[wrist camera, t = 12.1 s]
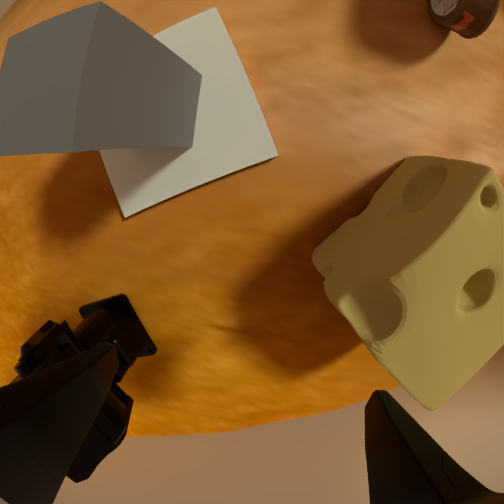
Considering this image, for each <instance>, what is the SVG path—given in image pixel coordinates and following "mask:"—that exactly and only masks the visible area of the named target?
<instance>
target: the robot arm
mask: <svg viewBox="0 0 504 504" xmlns="http://www.w3.org/2000/svg"><path fill="white" fill-rule="evenodd" d="M121 298H122V299H123V300H124V301H122V300H121ZM79 312H80V314H81V316H82V318H83V319H84V320H83V321H82V322H81V323H80V324H79V325H78V326H77V327H76V328H75V329H74V330H73V331H71V329H70V328H69V327H68V326H69V325H68V323H67V322H66V321H65V320H64V321H63V322H61V323H60V324H58V323H55V322H53V321H51V320H49V321H48V322H46V323H45V324H44V325H43V326H42V327H41V328H40V329H39V330H37V331H36V332H35V333H34V334H33V335H32V336H31V337H30V338H29V339H28V340H27V341H26V342H25V343H24V344H23V345H22V346H21V357H20V358H19V359H18V361H19V362H18V363H17V364H16V366H15V367H14V369H15V371H16V372H17V373H18V374H19V375H18V376H17V377H16V378H15V379H14V380H13V381H12V382H11V383H10V384H9V385H6V386H3V387H0V504H53V502H54V500H55V498H56V495H57V493H58V491H59V489H60V487H61V486H60V485H61V484H62V482H63V480H64V478H65V476H67V477H68V478H70V479H71V480H73V481H74V482H75V483H78V482H81V481H83V480H86V479H88V478H89V477H90V475H91V474H92V473H93V471H94V470H95V468H96V467H97V465H98V464H99V463H100V462H101V461H102V460H103V459H104V458H105V457H106V456H107V455H108V454H109V453H111V452H112V451H113V450H115V449H116V448H117V447H118V446H119V445H120V444H121V442H122V440H123V439H124V437H125V436H126V432H127V428H128V423H129V419H130V414H131V410H132V405H133V401H134V400H133V399H132V398H131V397H130V396H128V395H127V394H126V393H125V392H124V391H123V390H122V389H121V388H120V387H119V386H118V385H117V382H121V380H122V378H123V377H124V375H125V374H126V372H127V371H128V369H129V368H130V366H132V365H133V363H134V362H135V360H136V359H137V357H143V356H150V355H154V354H155V353H156V351H157V348H156V346H155V345H154V343H153V341H152V340H151V338H150V336H149V335H148V333H147V331H146V330H145V328H144V326H143V325H142V323H141V321H140V319H139V318H138V316H137V314H136V312H135V310H134V309H133V307H132V305H131V303H130V301H129V299H128V298H127V296H126V295H125V294H119V295H115V296H112V297H109V298H106V299H103V300H99V301H96V302H93V303H90V304H87V305H84V306H82V307H80V308H79ZM151 349H152V350H151ZM365 452H366V461H367V471H368V483H369V495H370V504H504V493H497V492H494V491H491V490H489V489H488V488H486V487H485V486H484V485H482V484H481V483H480V482H479V481H477V480H476V479H475V478H474V477H473V476H471V475H470V474H469V473H468V472H466V471H465V470H464V469H463V468H462V467H460V466H459V464H457V463H456V462H455V461H454V460H453V459H452V458H451V457H450V456H449V455H448V454H447V453H446V452H445V451H444V450H443V449H442V448H441V446H440V445H438V443H437V442H435V440H434V439H433V438H432V437H431V436H430V435H429V434H428V433H427V432H426V431H425V430H424V429H423V428H422V427H421V426H420V425H419V424H418V423H417V422H416V421H415V420H414V419H413V418H412V417H411V416H410V415H409V413H408V412H406V410H405V409H404V408H403V407H402V406H401V405H400V404H399V403H398V402H397V401H396V400H395V399H394V398H393V397H392V396H391V395H390V394H389V393H388V392H387V391H386V390H375V391H374V392H373V394H372V395H371V397H370V399H369V401H368V402H367V404H366V406H365Z"/></svg>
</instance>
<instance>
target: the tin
mask: <svg viewBox="0 0 504 504" xmlns="http://www.w3.org/2000/svg"><path fill="white" fill-rule="evenodd" d="M499 4H500V0H428V5H429V10H430V13H431V16H432V17H433V19H434V20H435V21H436V22H437V23H439V24H441V25H443V26H444V27H446V28H448V29H450V30H452V31H454V32H456V33H458V34H459V35H460V36H462V37H464V38H467V39H472V38H475V37H478V36H479V35H481V34H482V33H483V32H484V31H485V30H486V29H487V28H488V27H489V25H490V24H491V22H492V21H493V19H494V17H495V16H496V14H497V11H498V8H499Z"/></svg>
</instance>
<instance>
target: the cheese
mask: <svg viewBox="0 0 504 504" xmlns="http://www.w3.org/2000/svg"><path fill="white" fill-rule="evenodd" d="M312 262H313V265H314V266H315V268H316V269H317V271H318V272H319V273H320V274H321V275H322V276H323V277H324V278H325V281H324V282H323V285H324V289H325V293H326V295H327V297H328V298H329V300H330V302H331V303H332V304H333V306H334V307H335V308H336V309H337V310H338V311H339V312H340V313H341V314H342V315H343V316H344V317H345V318H346V319H347V321H348V322H349V323H350V324H351V326H352V327H353V329H354V330H355V331H356V333H357V334H358V336H359V337H360V339H361V340H362V341H363V343H364V344H365V346H366V347H367V348H368V349H369V351H370V352H371V353H372V355H373V356H374V357H375V358H376V360H377V361H378V362H379V363H380V364H381V365H382V366H383V367H384V368H385V369H386V370H387V371H388V372H389V373H390V374H391V375H392V376H393V377H394V378H395V379H396V380H397V381H398V382H399V383H400V384H401V385H402V386H403V387H404V388H405V389H406V390H407V392H408V393H409V394H410V395H411V396H412V397H413V398H414V399H415V400H416V401H417V402H418V403H419V404H420V405H421V406H423V407H424V408H426V409H428V410H430V411H434V410H435V409H437V408H438V407H439V406H441V405H442V404H443V403H444V402H445V401H447V400H448V399H449V398H450V397H451V396H452V395H453V394H454V393H456V392H457V391H458V390H459V389H460V388H461V387H462V386H463V385H464V384H465V383H466V382H467V381H468V380H469V379H470V378H471V377H472V376H473V375H474V374H475V373H476V372H477V371H478V370H479V369H480V368H481V367H482V366H483V365H484V364H485V363H486V362H487V361H488V360H489V359H490V358H491V357H492V356H493V355H494V354H495V353H496V352H497V350H499V349H500V347H502V345H503V344H504V190H503V188H502V186H501V183H500V181H499V179H498V177H497V175H496V174H495V172H494V170H493V169H492V168H491V167H488V166H485V165H482V164H478V163H474V162H469V161H463V160H455V159H447V158H442V157H435V156H410V157H407V158H406V159H405V160H404V161H403V162H402V164H401V165H400V166H399V167H398V168H397V169H396V170H395V171H394V172H393V173H392V174H391V176H390V177H389V178H388V179H387V180H386V181H385V182H384V183H383V184H382V185H381V186H380V188H379V189H378V190H377V191H376V192H375V194H374V195H373V197H372V199H371V201H370V203H369V205H368V206H367V208H366V209H365V210H364V211H363V212H362V213H361V214H359V215H358V216H356V217H354V218H349V219H348V220H347V221H345V222H344V223H343V224H342V225H341V226H340V227H339V228H338V229H337V230H336V231H334V232H333V233H332V234H331V235H330V236H328V237H327V238H326V239H325V240H324V241H322V242H321V243H320V244H319V245H318V246H317V247H316V248H315V249H314V250H313V253H312Z"/></svg>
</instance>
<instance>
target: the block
mask: <svg viewBox="0 0 504 504" xmlns="http://www.w3.org/2000/svg"><path fill="white" fill-rule="evenodd" d="M201 81H202V75H201V74H200V73H199V72H198V71H196V70H195V69H194V68H193V67H192V66H190V65H189V64H188V63H187V62H185V61H184V60H183V59H182V58H180V57H179V56H178V55H177V54H175V53H174V52H173V51H171V50H170V49H169V48H168V47H166V46H165V45H164V44H162V43H161V42H160V41H158V40H157V39H156V38H154V37H153V36H152V35H150V34H149V33H147V32H146V31H145V30H143V29H142V28H140V27H139V26H138V25H136V24H135V23H133V22H132V21H130V20H129V19H127V18H126V17H124V16H123V15H121V14H120V13H118V12H117V11H115V10H114V9H112V8H111V7H109V6H108V5H106V4H104V3H103V2H101V1H100V2H96V3H93V4H90V5H86V6H83V7H80V8H77V9H74V10H71V11H69V12H66V13H63V14H61V15H58V16H55V17H53V18H51V19H48V20H46V21H43V22H41V23H39V24H37V25H34V26H32V27H30V28H28V29H26V30H24V31H22V32H20V33H18V34H16V35H14V36H12V37H10V38H9V39H8V42H7V46H6V50H5V53H4V57H3V62H2V66H1V71H0V156H10V155H24V154H44V153H75V152H85V151H95V150H107V149H122V148H141V147H193V139H194V131H195V123H196V115H197V108H198V101H199V94H200V87H201Z"/></svg>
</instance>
